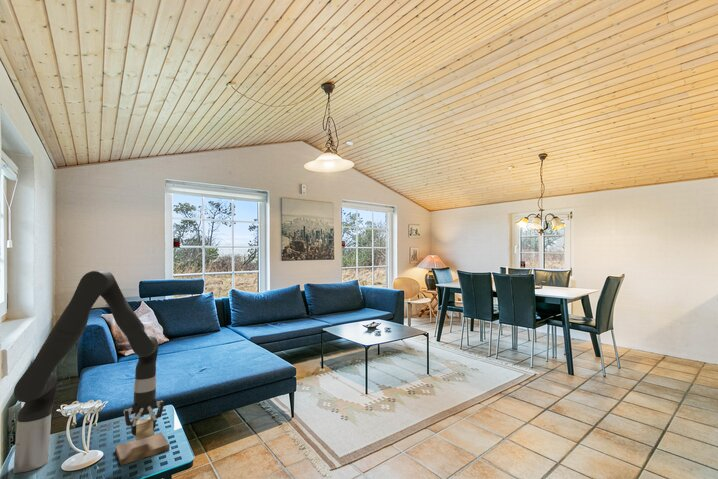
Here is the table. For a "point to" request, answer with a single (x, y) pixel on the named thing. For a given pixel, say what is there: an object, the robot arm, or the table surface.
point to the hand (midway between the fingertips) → (143, 432)
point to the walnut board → (141, 448)
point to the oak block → (144, 428)
